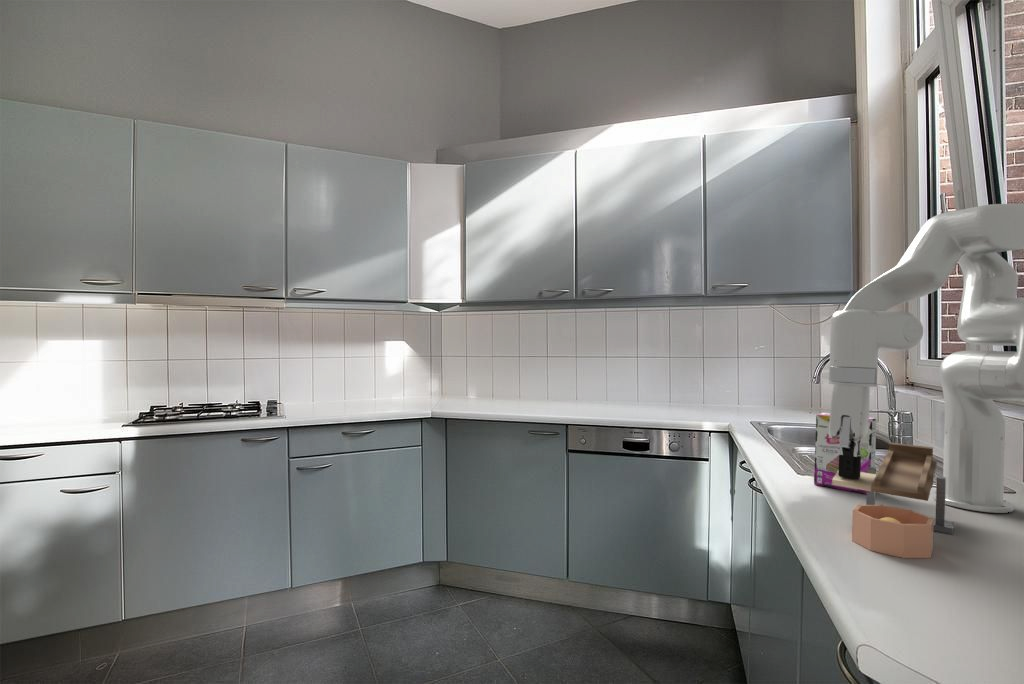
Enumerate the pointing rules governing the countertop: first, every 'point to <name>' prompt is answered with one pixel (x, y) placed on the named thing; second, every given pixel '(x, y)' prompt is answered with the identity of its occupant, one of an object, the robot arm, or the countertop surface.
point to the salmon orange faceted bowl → (893, 531)
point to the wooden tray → (898, 473)
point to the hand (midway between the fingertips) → (849, 477)
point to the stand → (939, 521)
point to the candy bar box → (830, 451)
